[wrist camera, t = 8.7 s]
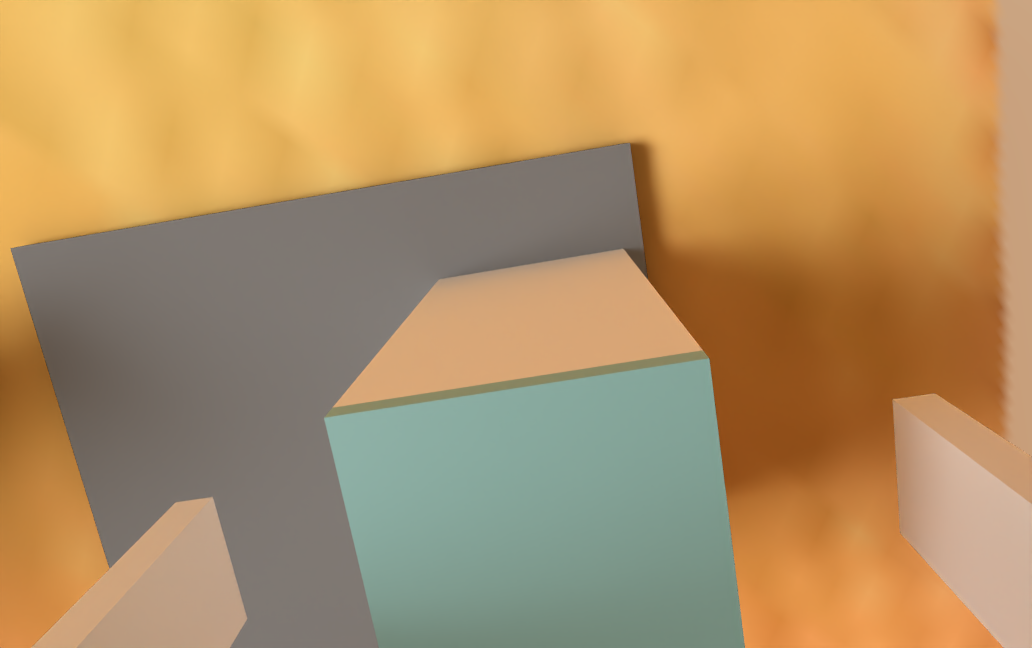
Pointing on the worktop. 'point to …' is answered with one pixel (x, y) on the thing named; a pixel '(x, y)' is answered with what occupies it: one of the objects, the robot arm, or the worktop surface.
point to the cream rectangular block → (540, 468)
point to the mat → (280, 355)
